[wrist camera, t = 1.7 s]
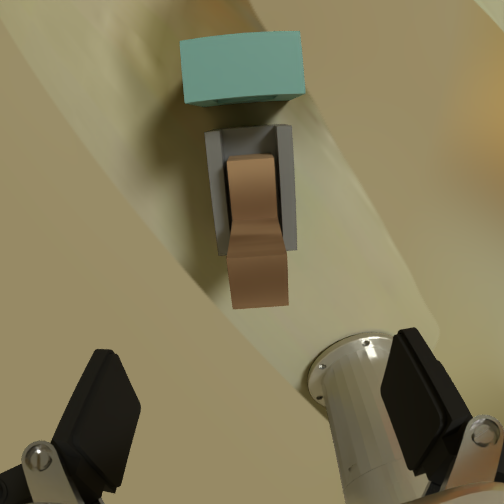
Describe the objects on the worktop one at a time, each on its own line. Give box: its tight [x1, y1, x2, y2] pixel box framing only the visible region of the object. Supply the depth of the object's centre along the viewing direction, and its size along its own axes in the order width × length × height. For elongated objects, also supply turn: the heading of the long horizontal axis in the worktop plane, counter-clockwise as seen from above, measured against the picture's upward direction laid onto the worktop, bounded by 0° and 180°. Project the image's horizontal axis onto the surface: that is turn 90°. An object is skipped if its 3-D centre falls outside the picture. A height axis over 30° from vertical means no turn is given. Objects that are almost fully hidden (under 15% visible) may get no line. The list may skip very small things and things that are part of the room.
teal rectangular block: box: [180, 31, 305, 107], centre depth 20 cm, size 4×7×8 cm, turn 94°
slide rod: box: [227, 153, 289, 309], centre depth 20 cm, size 7×3×9 cm, turn 4°
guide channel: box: [204, 124, 297, 256], centre depth 24 cm, size 9×6×5 cm, turn 5°
